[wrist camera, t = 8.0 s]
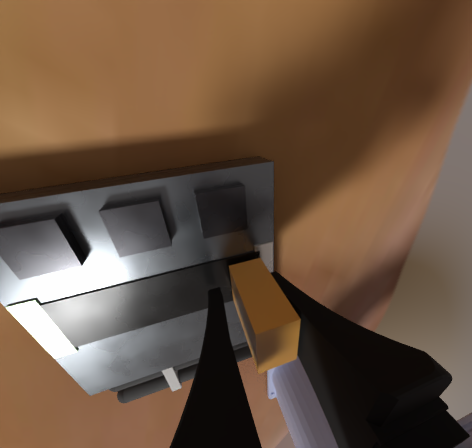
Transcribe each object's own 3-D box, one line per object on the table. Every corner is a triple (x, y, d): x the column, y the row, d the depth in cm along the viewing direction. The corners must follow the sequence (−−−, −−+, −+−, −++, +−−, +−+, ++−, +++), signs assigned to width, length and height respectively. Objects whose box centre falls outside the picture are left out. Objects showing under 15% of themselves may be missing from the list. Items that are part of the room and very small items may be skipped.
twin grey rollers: (262, 341, 20) (268, 355, 19) (123, 390, 17) (119, 411, 16) (261, 318, 18) (268, 332, 17) (107, 368, 16) (101, 390, 14)
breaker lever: (261, 292, 13) (296, 359, 9) (233, 301, 13) (258, 373, 9) (260, 257, 12) (300, 319, 8) (228, 265, 11) (255, 334, 8)
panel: (264, 312, 18) (276, 338, 16) (99, 365, 15) (86, 406, 13) (259, 156, 12) (279, 163, 9) (-32, 198, 9) (-103, 223, 6)
